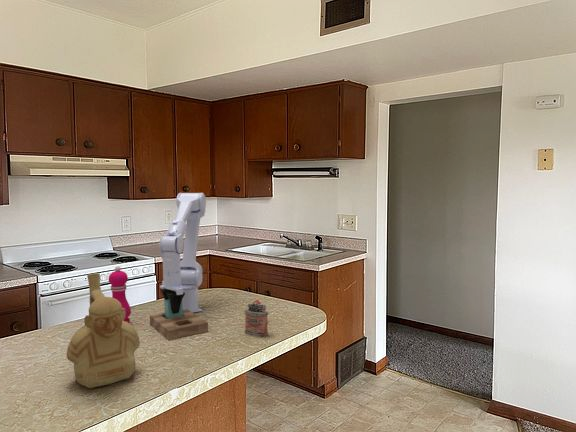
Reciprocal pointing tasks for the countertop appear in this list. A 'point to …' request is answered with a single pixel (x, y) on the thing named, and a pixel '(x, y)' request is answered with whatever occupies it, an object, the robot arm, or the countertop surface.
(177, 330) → the socket board
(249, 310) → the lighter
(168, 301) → the teal cuboid tower
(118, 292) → the pepper mill
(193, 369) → the countertop surface
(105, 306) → the ceramic vessel
